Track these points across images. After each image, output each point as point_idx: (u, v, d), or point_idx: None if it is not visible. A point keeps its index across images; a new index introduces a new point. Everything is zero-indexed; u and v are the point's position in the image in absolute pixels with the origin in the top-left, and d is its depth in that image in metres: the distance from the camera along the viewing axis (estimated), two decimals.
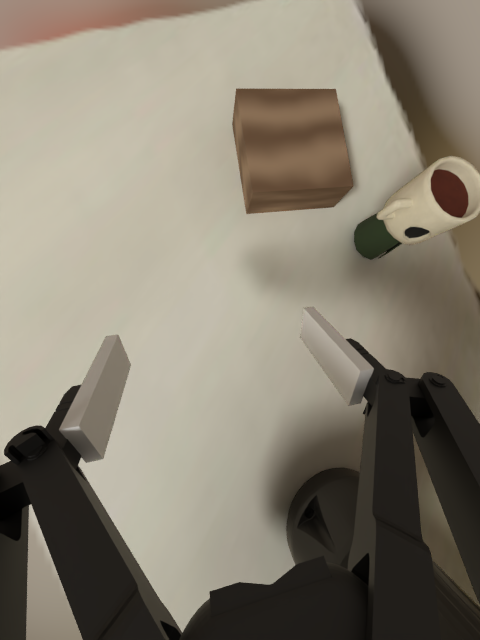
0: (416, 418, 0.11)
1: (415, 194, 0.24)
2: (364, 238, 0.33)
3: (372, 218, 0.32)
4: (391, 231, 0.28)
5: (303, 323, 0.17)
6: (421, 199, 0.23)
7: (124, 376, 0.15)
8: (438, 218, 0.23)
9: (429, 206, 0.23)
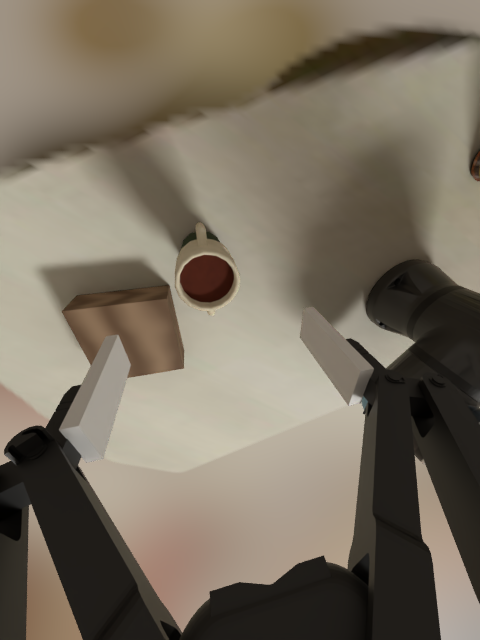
0: (417, 418, 0.11)
1: None
2: None
3: None
4: None
5: (303, 323, 0.17)
6: None
7: (124, 376, 0.15)
8: None
9: None
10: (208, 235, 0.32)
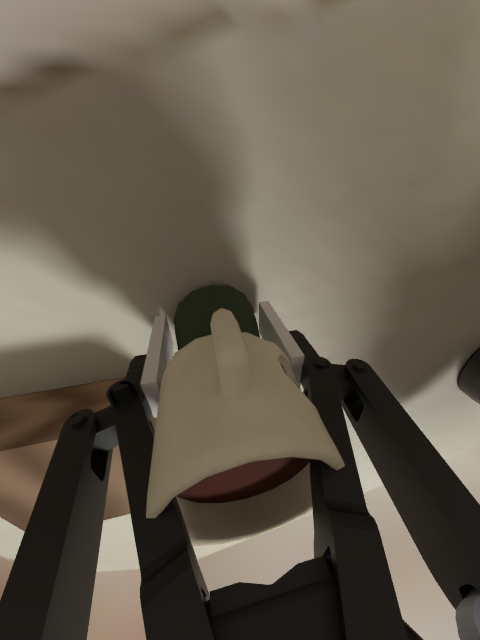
0: (348, 404, 0.12)
1: None
2: None
3: None
4: None
5: (259, 317, 0.18)
6: None
7: (171, 352, 0.17)
8: None
9: None
10: (230, 299, 0.15)
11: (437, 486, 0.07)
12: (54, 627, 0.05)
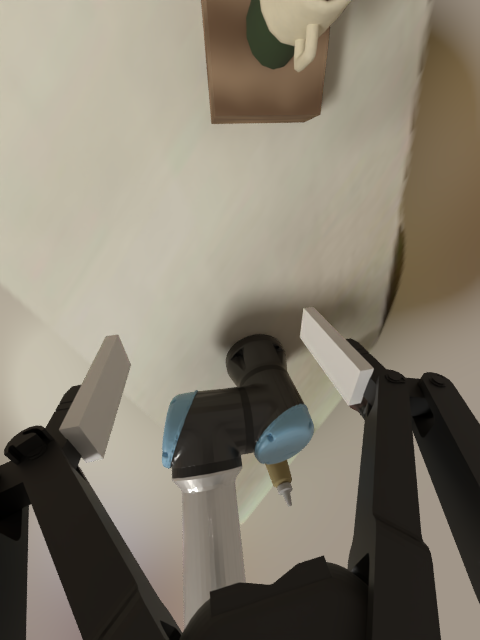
0: (416, 418, 0.11)
1: (312, 19, 0.17)
2: (283, 59, 0.25)
3: (265, 41, 0.23)
4: None
5: (303, 323, 0.17)
6: (326, 16, 0.17)
7: (124, 376, 0.15)
8: None
9: (342, 7, 0.17)
10: None
11: None
12: None
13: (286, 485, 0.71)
